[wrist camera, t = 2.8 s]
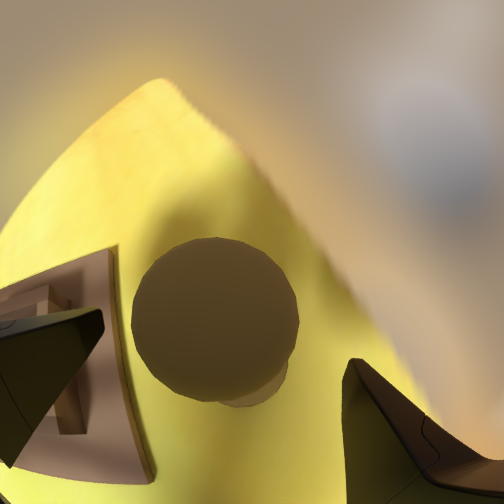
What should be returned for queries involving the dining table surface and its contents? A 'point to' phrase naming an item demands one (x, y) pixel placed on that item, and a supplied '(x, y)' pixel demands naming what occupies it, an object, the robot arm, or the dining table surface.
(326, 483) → the dining table surface
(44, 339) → the robot arm
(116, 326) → the holder board
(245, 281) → the cork
